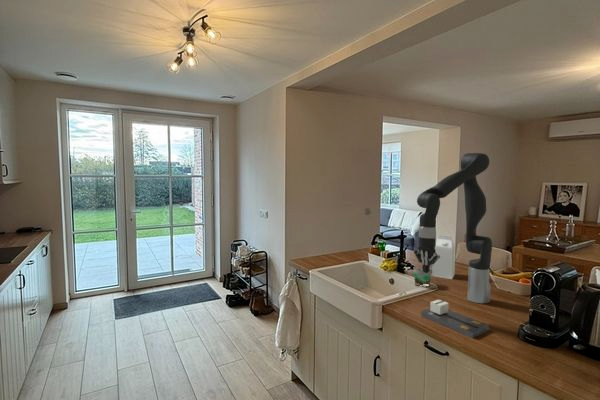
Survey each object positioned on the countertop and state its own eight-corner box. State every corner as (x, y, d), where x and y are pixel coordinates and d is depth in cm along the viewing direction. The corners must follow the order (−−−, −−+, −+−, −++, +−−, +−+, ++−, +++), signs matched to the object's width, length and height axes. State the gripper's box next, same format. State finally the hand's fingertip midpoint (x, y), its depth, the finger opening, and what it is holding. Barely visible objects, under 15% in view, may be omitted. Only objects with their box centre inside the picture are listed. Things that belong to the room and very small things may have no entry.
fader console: (421, 315, 146) (421, 311, 146) (437, 309, 153) (437, 305, 152) (472, 338, 126) (472, 333, 126) (489, 330, 132) (489, 325, 132)
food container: (421, 289, 180) (422, 271, 179) (413, 285, 185) (413, 268, 184) (436, 285, 186) (437, 268, 185) (427, 282, 191) (428, 266, 190)
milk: (454, 274, 207) (456, 234, 205) (452, 279, 197) (453, 237, 195) (434, 271, 213) (436, 232, 211) (431, 275, 203) (432, 235, 201)
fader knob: (430, 310, 146) (430, 301, 145) (438, 307, 149) (438, 299, 148) (440, 314, 141) (440, 305, 141) (448, 311, 145) (448, 302, 144)
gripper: (410, 234, 152) (409, 270, 154) (434, 239, 141) (433, 277, 143) (420, 233, 156) (419, 267, 158) (445, 237, 145) (443, 275, 147)
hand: (425, 272), depth 150 cm, fingers closed
